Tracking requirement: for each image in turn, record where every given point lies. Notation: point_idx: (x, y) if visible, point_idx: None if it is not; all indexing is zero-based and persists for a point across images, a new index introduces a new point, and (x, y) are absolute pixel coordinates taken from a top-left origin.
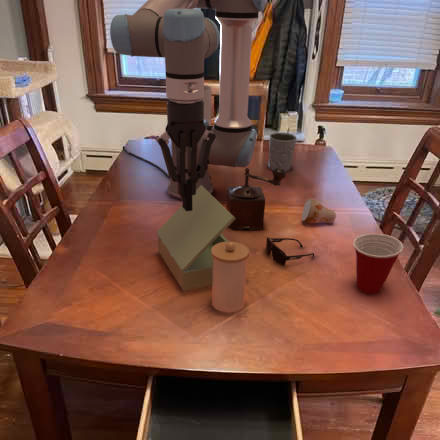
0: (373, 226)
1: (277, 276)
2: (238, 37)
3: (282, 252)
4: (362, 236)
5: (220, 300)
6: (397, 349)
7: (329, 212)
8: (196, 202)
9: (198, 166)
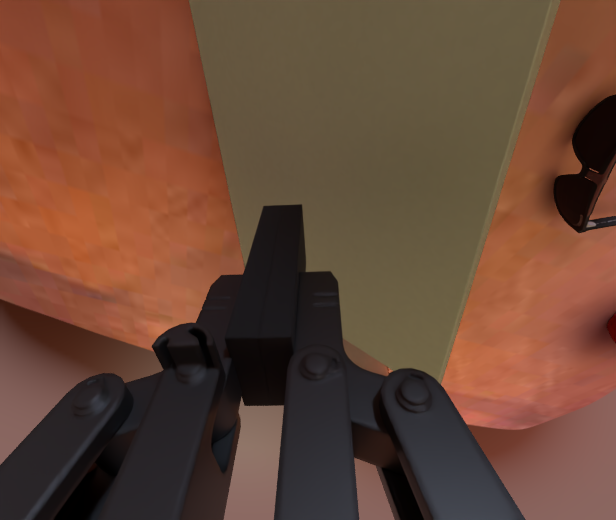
0: None
1: (506, 234)
2: None
3: (581, 224)
4: None
5: None
6: (504, 413)
7: None
8: (402, 66)
9: (429, 499)
